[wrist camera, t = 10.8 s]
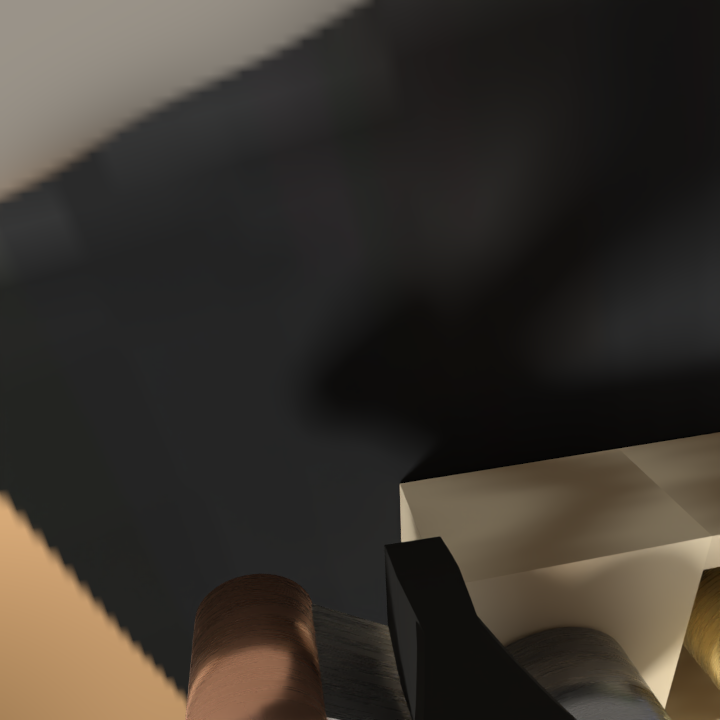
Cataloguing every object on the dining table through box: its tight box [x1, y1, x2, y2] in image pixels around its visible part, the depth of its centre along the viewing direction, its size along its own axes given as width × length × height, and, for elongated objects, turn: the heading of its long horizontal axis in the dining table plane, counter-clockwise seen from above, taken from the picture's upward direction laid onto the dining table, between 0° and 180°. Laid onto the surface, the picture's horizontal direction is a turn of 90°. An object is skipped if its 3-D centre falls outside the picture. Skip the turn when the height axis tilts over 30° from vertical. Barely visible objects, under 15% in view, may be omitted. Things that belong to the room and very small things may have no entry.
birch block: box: [400, 432, 720, 720], centre depth 16 cm, size 12×8×4 cm, turn 93°
